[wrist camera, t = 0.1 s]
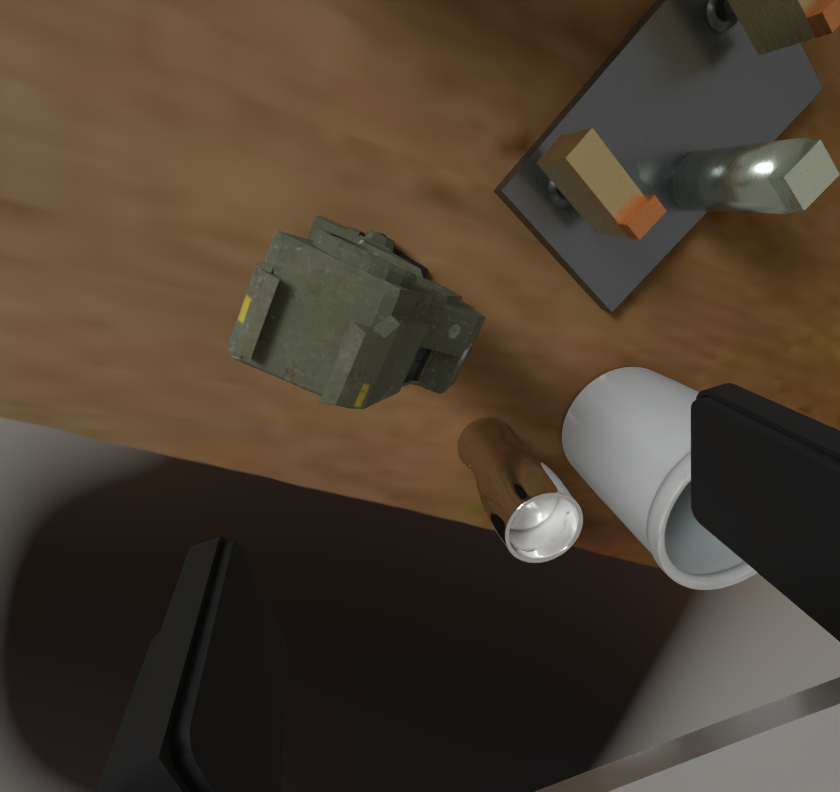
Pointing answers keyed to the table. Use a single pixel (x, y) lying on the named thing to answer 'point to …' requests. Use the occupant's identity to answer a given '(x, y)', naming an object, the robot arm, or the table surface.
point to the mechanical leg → (351, 318)
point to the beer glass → (519, 493)
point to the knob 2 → (781, 20)
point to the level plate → (678, 141)
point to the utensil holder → (648, 471)
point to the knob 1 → (599, 186)
